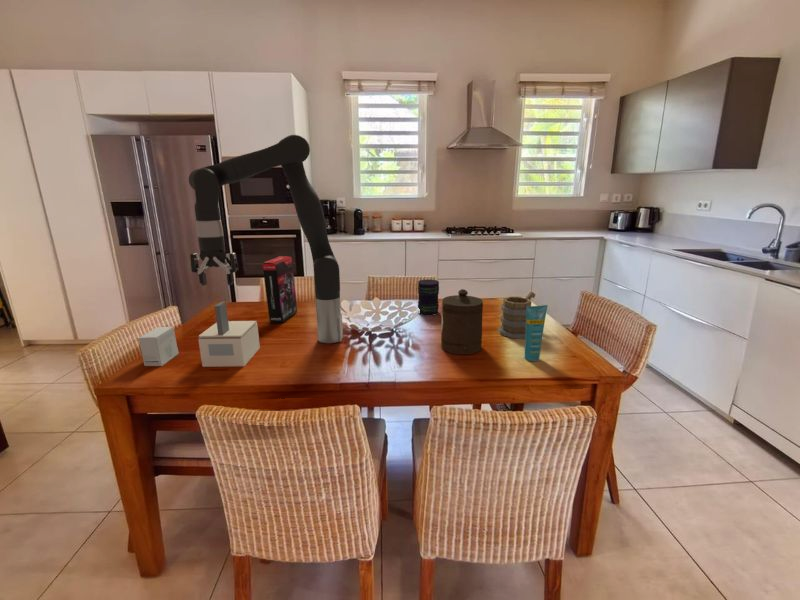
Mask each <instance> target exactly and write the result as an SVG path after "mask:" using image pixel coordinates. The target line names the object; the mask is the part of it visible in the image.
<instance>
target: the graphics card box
mask: <svg viewBox="0 0 800 600" xmlns="http://www.w3.org/2000/svg"><path fill="white" fill-rule="evenodd" d="M262 270H263V279H264V287H265V294H266V304H267V310H268V311H267V312H268V319H269V323H270V324H273V323H274V324H276V323H277V324H283V323H285V322H286V321H287V320H288V319H289V318H291V317H292V316H294V315H295V314H297V312H298V306H297V305H298V304H297V296H296V286H295V277H294V266H293V258H292V257H291V256H285V255H284V256H283V255H278V256H277V257H275V258H271V259H269V260H266V261H264V262H262Z"/></svg>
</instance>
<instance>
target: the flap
mask: <svg viewBox="0 0 800 600" xmlns="http://www.w3.org/2000/svg"><path fill="white" fill-rule="evenodd" d="M213 307H214V313H215V320H216V322H215V323H213V324H212V325H211V326H210V327H209V328H207V329H206V330H205V331H203V332H202V333H200V334H199V335H198V339H199V338H210V337H242V336H243V335H244V334H245V333H246V332H247V331H248V330H249V329H250V328H251V327H252V326H253V325H255V324H256V323H257V320H231V321H230V320H229V317H228V316H229V315H228V310H227V309H228V308H227V302H226V301H220V302H218V303H217V304H215V305H214V306H213ZM257 324H258V323H257Z"/></svg>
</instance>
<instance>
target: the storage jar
mask: <svg viewBox="0 0 800 600" xmlns="http://www.w3.org/2000/svg"><path fill="white" fill-rule="evenodd" d="M417 283H418V284H417V285H418V286H417V293H418V301H417V309H418V308H419V309H420V314H419V315H421V314H422V316H426V315H432V316H434V315H433V314H436V315H438V314H439V307H440V306H439V293H440V292H439V291H440V282H439V280H437V279H421V280H418V282H417ZM437 313H438V314H437Z"/></svg>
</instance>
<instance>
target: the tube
mask: <svg viewBox="0 0 800 600" xmlns="http://www.w3.org/2000/svg"><path fill="white" fill-rule="evenodd" d="M547 311H548V304H542V305H531V306H526V338H524V339H525V341H524V343H525V345H524V357H523V358H524V359H525V360H526V361H531V362H537V361H540V356H541V347H542V340H543V334H544V327H545V321H546V317H547Z"/></svg>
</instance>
